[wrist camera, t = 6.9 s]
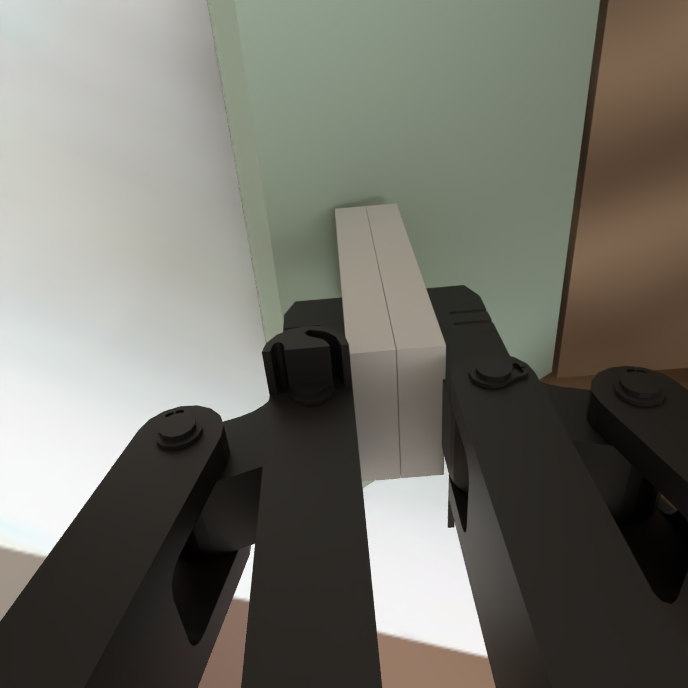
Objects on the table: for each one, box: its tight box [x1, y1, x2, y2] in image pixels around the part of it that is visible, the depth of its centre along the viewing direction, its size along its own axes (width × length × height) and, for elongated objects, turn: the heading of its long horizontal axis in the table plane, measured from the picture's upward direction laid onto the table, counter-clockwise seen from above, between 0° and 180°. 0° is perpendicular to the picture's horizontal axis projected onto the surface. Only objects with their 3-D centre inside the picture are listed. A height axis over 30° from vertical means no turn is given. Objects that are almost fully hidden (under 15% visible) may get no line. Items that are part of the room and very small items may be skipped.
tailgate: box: [207, 0, 600, 488], centre depth 18 cm, size 17×2×12 cm
